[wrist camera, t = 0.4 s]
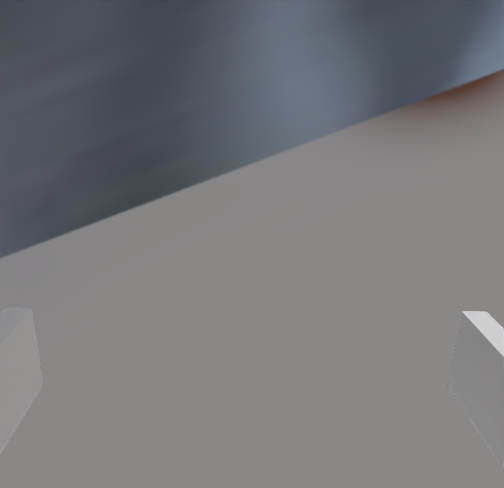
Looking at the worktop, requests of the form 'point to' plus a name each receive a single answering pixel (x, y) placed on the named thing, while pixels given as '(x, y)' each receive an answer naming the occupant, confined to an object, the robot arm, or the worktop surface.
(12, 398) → the robot arm
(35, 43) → the worktop surface
